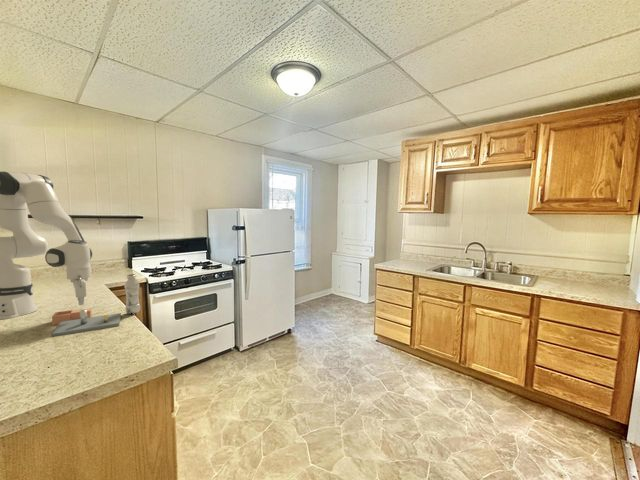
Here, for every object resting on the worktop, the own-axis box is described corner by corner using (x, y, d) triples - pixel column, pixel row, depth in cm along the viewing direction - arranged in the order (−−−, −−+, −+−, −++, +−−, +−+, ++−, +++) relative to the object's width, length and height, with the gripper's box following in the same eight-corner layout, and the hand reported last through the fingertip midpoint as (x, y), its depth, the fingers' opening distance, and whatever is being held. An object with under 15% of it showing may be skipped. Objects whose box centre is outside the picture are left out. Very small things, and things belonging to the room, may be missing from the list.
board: (52, 337, 112) (52, 333, 112) (61, 324, 124) (61, 321, 124) (119, 326, 124) (118, 323, 124) (120, 316, 136) (120, 313, 136)
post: (79, 324, 121) (78, 311, 121) (82, 322, 123) (81, 309, 123) (106, 323, 124) (105, 310, 123) (108, 321, 126) (108, 308, 125)
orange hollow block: (52, 325, 124) (51, 316, 124) (56, 320, 129) (55, 312, 129) (90, 319, 131) (89, 311, 131) (92, 315, 137) (91, 307, 136)
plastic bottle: (124, 316, 136) (122, 276, 134) (126, 312, 142) (125, 274, 140) (139, 314, 139) (138, 275, 137) (141, 310, 145) (139, 273, 143)
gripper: (89, 276, 125) (91, 306, 126) (86, 270, 140) (87, 296, 141) (70, 278, 120) (72, 309, 122) (69, 271, 135) (71, 298, 136)
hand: (80, 302), depth 131 cm, fingers open, 8 cm apart
